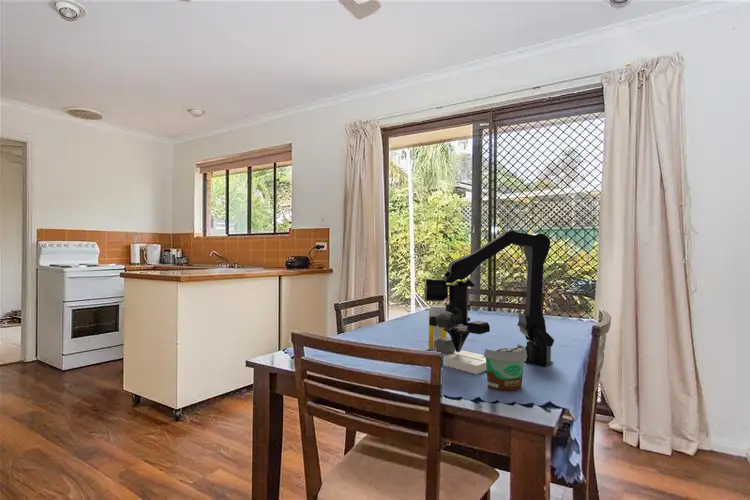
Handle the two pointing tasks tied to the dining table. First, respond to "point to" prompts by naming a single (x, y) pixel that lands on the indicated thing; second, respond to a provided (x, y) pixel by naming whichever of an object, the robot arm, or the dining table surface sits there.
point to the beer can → (435, 327)
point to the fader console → (466, 361)
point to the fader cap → (445, 345)
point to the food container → (505, 368)
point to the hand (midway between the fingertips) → (458, 351)
